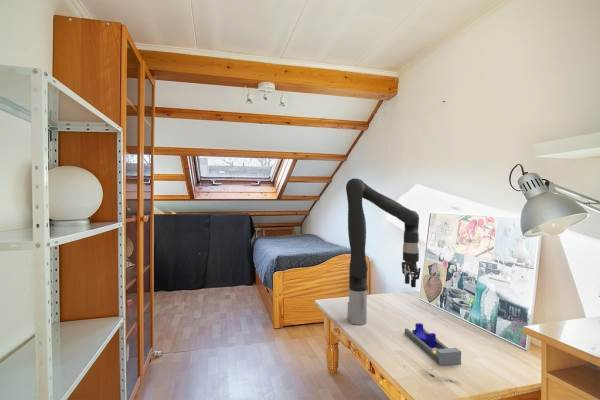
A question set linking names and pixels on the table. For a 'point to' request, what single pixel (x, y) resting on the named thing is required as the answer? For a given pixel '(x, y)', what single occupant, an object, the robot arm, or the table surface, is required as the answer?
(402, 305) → the table surface
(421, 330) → the blue u-shaped block
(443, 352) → the grey u-shaped bracket
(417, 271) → the robot arm
